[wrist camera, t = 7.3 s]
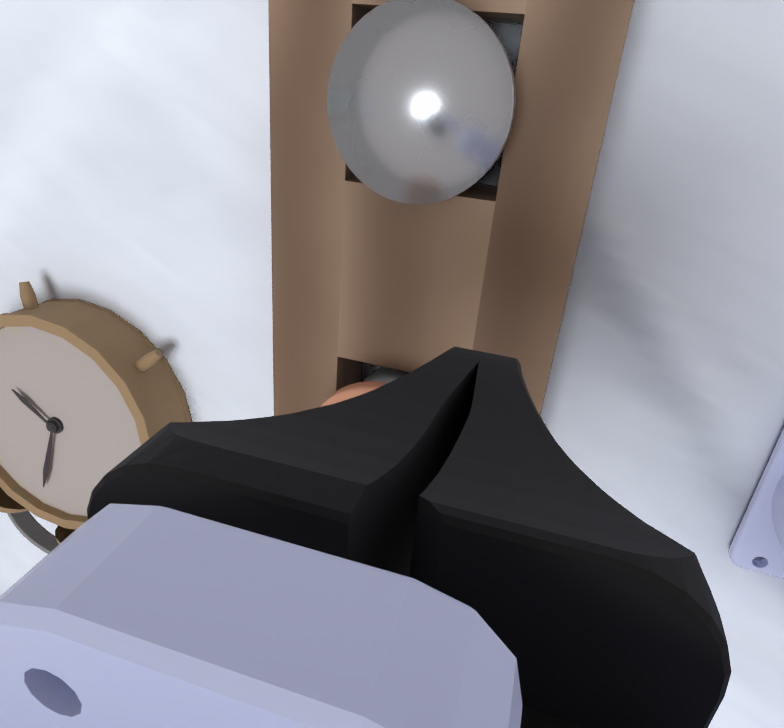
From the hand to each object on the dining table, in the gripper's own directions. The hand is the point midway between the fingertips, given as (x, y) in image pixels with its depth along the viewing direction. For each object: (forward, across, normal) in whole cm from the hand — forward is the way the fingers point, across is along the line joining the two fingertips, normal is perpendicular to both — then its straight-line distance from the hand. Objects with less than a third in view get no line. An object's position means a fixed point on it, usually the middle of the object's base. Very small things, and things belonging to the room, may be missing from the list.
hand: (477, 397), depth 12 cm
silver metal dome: (+10, +3, -5) cm, 12 cm away
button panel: (+10, +3, +1) cm, 11 cm away
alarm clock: (+11, +20, +12) cm, 26 cm away
